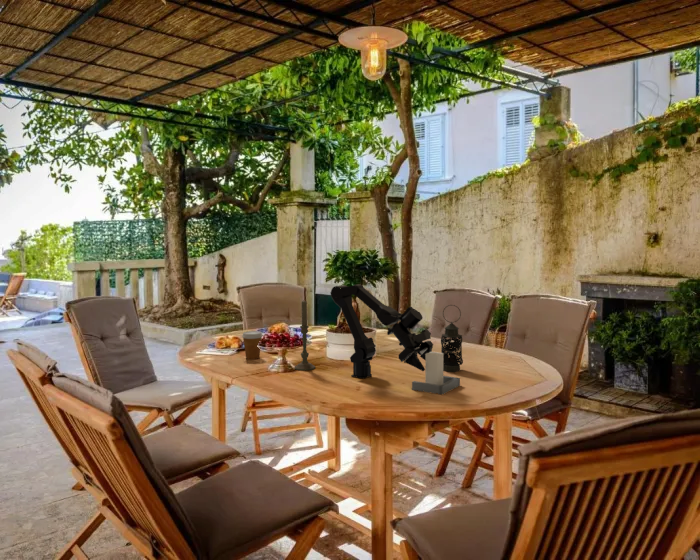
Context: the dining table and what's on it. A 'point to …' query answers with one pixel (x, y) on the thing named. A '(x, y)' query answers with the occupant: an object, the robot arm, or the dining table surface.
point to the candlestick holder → (304, 341)
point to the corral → (447, 385)
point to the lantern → (451, 347)
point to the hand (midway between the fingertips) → (429, 368)
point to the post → (434, 368)
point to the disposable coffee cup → (252, 344)
